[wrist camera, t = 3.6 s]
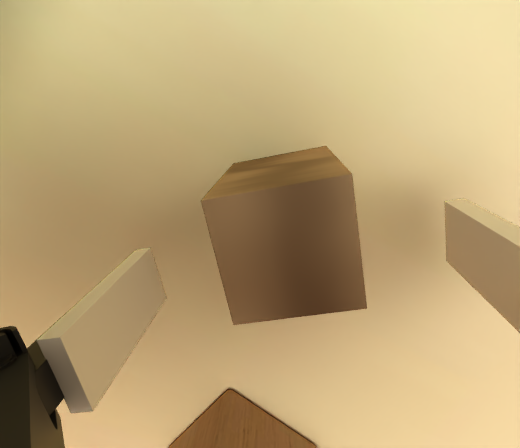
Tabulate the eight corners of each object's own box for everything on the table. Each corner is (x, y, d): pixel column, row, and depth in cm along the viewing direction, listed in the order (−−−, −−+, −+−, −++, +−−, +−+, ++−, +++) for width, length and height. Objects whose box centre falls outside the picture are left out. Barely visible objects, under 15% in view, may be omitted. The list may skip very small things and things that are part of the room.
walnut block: (252, 247, 24) (233, 325, 16) (233, 163, 22) (200, 200, 14) (337, 233, 23) (367, 308, 15) (326, 145, 21) (352, 173, 13)
